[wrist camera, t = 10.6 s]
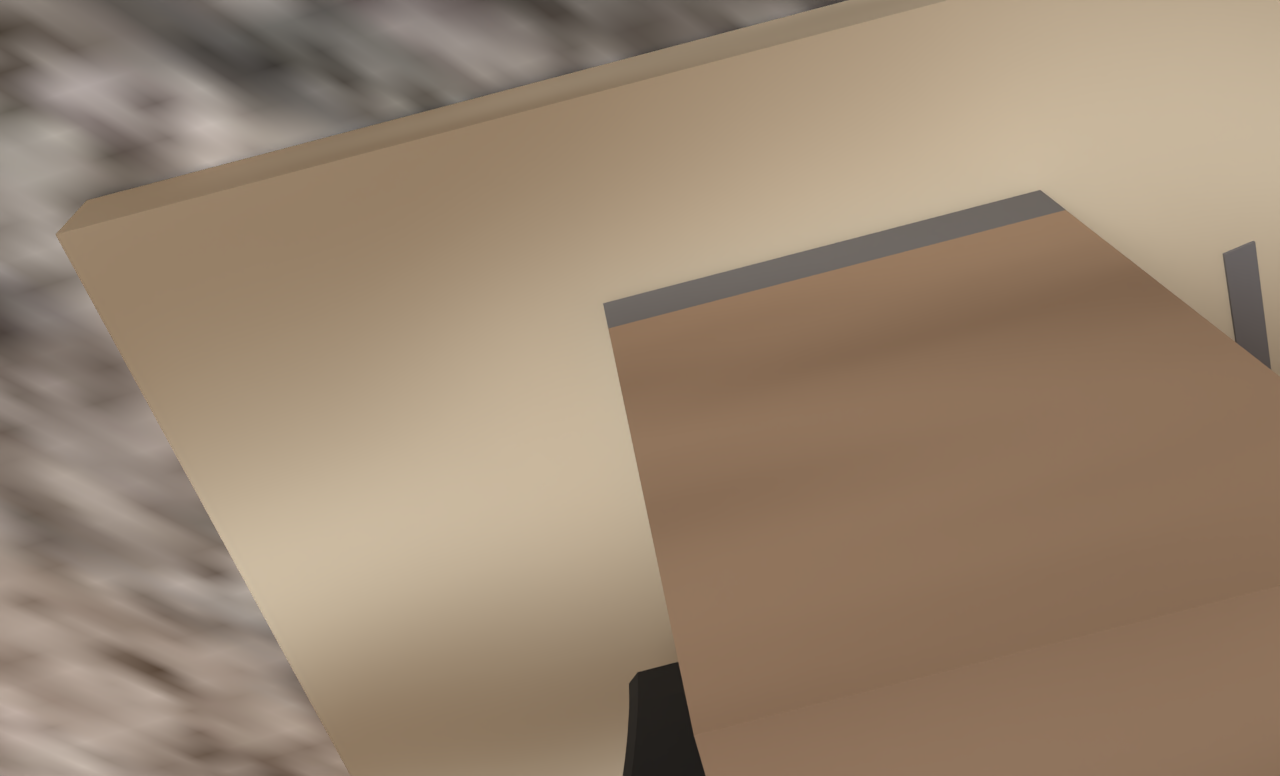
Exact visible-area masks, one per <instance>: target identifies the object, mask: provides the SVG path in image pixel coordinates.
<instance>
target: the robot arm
mask: <svg viewBox="0 0 1280 776" xmlns="http://www.w3.org/2000/svg"><path fill="white" fill-rule="evenodd" d="M623 776H706V775H705V772H704V768H703V765H702V762H701V758H700V755H699V751H698V748H697V744H696V741H695V738H694V734H693V729H692V724H691V719H690V715H689V710H688V705H687V700H686V696H685V691H684V686H683V681H682V677H681V672H680V667H679V662H675V663H671V664H667V665H663V666H660V667H656V668H652V669H648V670H644V671H640V672H637V674H636V675H635V676H634V677H633V679H632V680H631V681H630V683H629V717H628V733H627V744H626V753H625V762H624V770H623Z"/></svg>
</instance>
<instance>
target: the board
mask: <svg viewBox="0 0 1280 776" xmlns="http://www.w3.org/2000/svg"><path fill="white" fill-rule="evenodd" d="M1038 190H1041V191H1042V192H1044V193H1045V194H1046V195H1047V196H1049V197H1050V198H1051V199H1053V200H1054V201H1055V202H1056V203H1058V204H1059V205H1060V206H1062V207H1063V208H1064V209H1065V210H1067V211H1068V212H1069V213H1071V214H1072V215H1073V216H1074V217H1076V218H1077V219H1078V220H1080V221H1081V222H1082V223H1083V224H1085V225H1086V226H1087V227H1089V228H1090V229H1091V230H1092V231H1094V232H1095V233H1096V234H1097V235H1099V236H1100V237H1101V238H1103V239H1104V240H1105V241H1106V242H1108V243H1109V244H1110V245H1112V246H1113V247H1114V248H1115V249H1117V250H1118V251H1119V252H1121V253H1122V254H1123V255H1124V256H1126V257H1127V258H1128V259H1130V260H1131V261H1132V262H1133V263H1135V264H1136V265H1137V266H1139V267H1140V268H1141V269H1142V270H1144V271H1145V272H1146V273H1148V274H1149V275H1150V276H1151V277H1153V278H1154V279H1155V280H1157V281H1158V282H1159V283H1160V284H1162V285H1163V286H1164V287H1165V288H1167V289H1168V290H1169V291H1171V292H1172V293H1173V294H1174V295H1176V296H1177V297H1178V298H1180V299H1181V300H1182V301H1183V302H1185V303H1186V304H1187V305H1189V306H1190V307H1191V308H1192V309H1194V310H1195V311H1196V312H1198V313H1199V314H1200V315H1201V316H1203V317H1204V318H1205V319H1207V320H1208V321H1209V322H1210V323H1212V324H1213V325H1214V326H1216V327H1217V328H1218V329H1219V330H1221V331H1222V332H1223V333H1225V334H1226V335H1227V336H1228V337H1230V338H1231V339H1232V340H1233V341H1235V342H1236V343H1237V344H1239V345H1240V346H1241V347H1242V348H1244V349H1245V350H1246V351H1248V352H1249V353H1250V354H1251V355H1253V356H1254V357H1255V358H1257V359H1258V360H1259V361H1260V362H1262V363H1263V364H1264V365H1266V366H1267V367H1268V368H1269V369H1271V370H1272V371H1273V372H1275V373H1276V374H1277V375H1278V376H1280V0H848V1H844V2H840V3H836V4H832V5H829V6H825V7H821V8H817V9H813V10H810V11H806V12H802V13H798V14H794V15H791V16H787V17H783V18H779V19H775V20H771V21H768V22H764V23H760V24H756V25H752V26H749V27H745V28H741V29H737V30H733V31H730V32H726V33H722V34H718V35H714V36H711V37H707V38H703V39H699V40H695V41H692V42H688V43H684V44H680V45H676V46H673V47H669V48H665V49H661V50H657V51H654V52H650V53H646V54H642V55H638V56H635V57H631V58H627V59H623V60H619V61H616V62H612V63H608V64H604V65H600V66H596V67H593V68H589V69H585V70H581V71H577V72H574V73H570V74H566V75H562V76H558V77H555V78H551V79H547V80H543V81H539V82H536V83H532V84H528V85H524V86H520V87H517V88H513V89H509V90H505V91H501V92H498V93H494V94H490V95H486V96H482V97H479V98H475V99H471V100H467V101H463V102H460V103H456V104H452V105H448V106H444V107H440V108H437V109H433V110H429V111H425V112H421V113H418V114H414V115H410V116H406V117H402V118H399V119H395V120H391V121H387V122H383V123H380V124H376V125H372V126H368V127H364V128H361V129H357V130H353V131H349V132H345V133H342V134H338V135H334V136H330V137H326V138H323V139H319V140H315V141H311V142H307V143H304V144H300V145H296V146H292V147H288V148H284V149H281V150H277V151H273V152H269V153H265V154H262V155H258V156H254V157H250V158H246V159H243V160H239V161H235V162H231V163H227V164H224V165H220V166H216V167H212V168H208V169H205V170H201V171H197V172H193V173H189V174H186V175H182V176H178V177H174V178H170V179H167V180H163V181H159V182H155V183H151V184H148V185H144V186H140V187H136V188H132V189H128V190H125V191H121V192H117V193H113V194H109V195H106V196H102V197H98V198H94V199H90V200H87V201H86V202H85V203H84V204H83V205H82V206H81V207H80V208H79V209H78V211H77V212H76V213H75V214H74V215H73V216H72V217H71V218H70V219H69V220H68V222H67V223H66V224H65V225H64V226H63V227H62V228H61V229H60V230H59V231H58V232H57V234H56V236H57V238H58V240H59V242H60V243H61V245H62V247H63V249H64V251H65V253H66V254H67V256H68V258H69V260H70V262H71V264H72V265H73V267H74V269H75V271H76V273H77V275H78V276H79V278H80V280H81V282H82V284H83V286H84V287H85V289H86V291H87V293H88V295H89V297H90V298H91V300H92V302H93V304H94V306H95V308H96V309H97V311H98V313H99V315H100V317H101V319H102V320H103V322H104V324H105V326H106V328H107V330H108V331H109V333H110V335H111V337H112V339H113V341H114V342H115V344H116V346H117V348H118V350H119V352H120V353H121V355H122V357H123V359H124V361H125V363H126V364H127V366H128V368H129V370H130V372H131V374H132V375H133V377H134V379H135V381H136V383H137V385H138V387H139V388H140V390H141V392H142V394H143V396H144V398H145V399H146V401H147V403H148V405H149V407H150V409H151V410H152V412H153V414H154V416H155V418H156V420H157V421H158V423H159V425H160V427H161V429H162V431H163V432H164V434H165V436H166V438H167V440H168V442H169V443H170V445H171V447H172V449H173V451H174V453H175V454H176V456H177V458H178V460H179V462H180V464H181V465H182V467H183V469H184V471H185V473H186V475H187V476H188V478H189V480H190V482H191V484H192V486H193V487H194V489H195V491H196V493H197V495H198V497H199V498H200V500H201V502H202V504H203V506H204V508H205V509H206V511H207V513H208V515H209V517H210V519H211V520H212V522H213V524H214V526H215V528H216V530H217V531H218V533H219V535H220V537H221V539H222V541H223V542H224V544H225V546H226V548H227V550H228V552H229V553H230V555H231V557H232V559H233V561H234V563H235V564H236V566H237V568H238V570H239V572H240V574H241V575H242V577H243V579H244V581H245V583H246V585H247V586H248V588H249V590H250V592H251V594H252V596H253V597H254V599H255V601H256V603H257V605H258V607H259V608H260V610H261V612H262V614H263V616H264V618H265V619H266V621H267V623H268V625H269V627H270V629H271V630H272V632H273V634H274V636H275V638H276V640H277V641H278V643H279V645H280V647H281V649H282V651H283V653H284V654H285V656H286V658H287V660H288V662H289V664H290V665H291V667H292V669H293V671H294V673H295V675H296V676H297V678H298V680H299V682H300V684H301V686H302V687H303V689H304V691H305V693H306V695H307V697H308V698H309V700H310V702H311V704H312V706H313V708H314V709H315V711H316V713H317V715H318V717H319V719H320V720H321V722H322V724H323V726H324V728H325V730H326V731H327V733H328V735H329V737H330V739H331V741H332V742H333V744H334V746H335V748H336V750H337V752H338V753H339V755H340V757H341V759H342V761H343V763H344V764H345V766H346V768H347V770H348V772H349V774H350V775H351V776H623V770H624V762H625V753H626V744H627V733H628V717H629V683H630V681H631V680H632V679H633V677H634V676H635V675H636V674H637V672H640V671H644V670H648V669H652V668H656V667H660V666H663V665H667V664H671V663H675V662H678V658H677V653H676V648H675V643H674V639H673V634H672V629H671V624H670V620H669V615H668V610H667V605H666V601H665V596H664V591H663V586H662V582H661V577H660V572H659V567H658V563H657V558H656V553H655V548H654V544H653V539H652V534H651V529H650V525H649V520H648V515H647V510H646V506H645V501H644V496H643V491H642V487H641V482H640V477H639V472H638V468H637V463H636V458H635V453H634V449H633V444H632V439H631V434H630V430H629V425H628V420H627V415H626V411H625V406H624V401H623V396H622V392H621V387H620V382H619V377H618V373H617V368H616V363H615V358H614V354H613V349H612V344H611V339H610V335H609V330H608V325H607V320H606V316H605V311H604V306H603V303H606V302H610V301H614V300H618V299H622V298H625V297H629V296H633V295H637V294H641V293H645V292H649V291H652V290H656V289H660V288H664V287H668V286H672V285H676V284H679V283H683V282H687V281H691V280H695V279H699V278H703V277H706V276H710V275H714V274H718V273H722V272H726V271H730V270H733V269H737V268H741V267H745V266H749V265H753V264H757V263H760V262H764V261H768V260H772V259H776V258H780V257H784V256H787V255H791V254H795V253H799V252H803V251H807V250H811V249H814V248H818V247H822V246H826V245H830V244H834V243H837V242H841V241H845V240H849V239H853V238H857V237H861V236H864V235H868V234H872V233H876V232H880V231H884V230H888V229H891V228H895V227H899V226H903V225H907V224H911V223H915V222H918V221H922V220H926V219H930V218H934V217H938V216H942V215H945V214H949V213H953V212H957V211H961V210H965V209H969V208H972V207H976V206H980V205H984V204H988V203H992V202H996V201H999V200H1003V199H1007V198H1011V197H1015V196H1019V195H1023V194H1026V193H1030V192H1034V191H1038Z"/></svg>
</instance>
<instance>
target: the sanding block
mask: <svg viewBox="0 0 1280 776" xmlns="http://www.w3.org/2000/svg"><path fill="white" fill-rule="evenodd" d="M603 306H604V311H605V316H606V320H607V325H608V330H609V335H610V339H611V344H612V349H613V354H614V358H615V363H616V368H617V373H618V377H619V382H620V387H621V392H622V396H623V401H624V406H625V411H626V415H627V420H628V425H629V430H630V434H631V439H632V444H633V449H634V453H635V458H636V463H637V468H638V472H639V477H640V482H641V487H642V491H643V496H644V501H645V506H646V510H647V515H648V520H649V525H650V529H651V534H652V539H653V544H654V548H655V553H656V558H657V563H658V567H659V572H660V577H661V582H662V586H663V591H664V596H665V601H666V605H667V610H668V615H669V620H670V624H671V629H672V634H673V639H674V643H675V648H676V653H677V658H678V662H679V667H680V672H681V677H682V681H683V686H684V691H685V696H686V700H687V705H688V710H689V715H690V719H691V724H692V729H693V734H694V738H695V741H696V744H697V748H698V751H699V755H700V758H701V762H702V765H703V768H704V772H705V775H706V776H1280V376H1278V375H1277V374H1276V373H1275V372H1273V371H1272V370H1271V369H1269V368H1268V367H1267V366H1266V365H1264V364H1263V363H1262V362H1260V361H1259V360H1258V359H1257V358H1255V357H1254V356H1253V355H1251V354H1250V353H1249V352H1248V351H1246V350H1245V349H1244V348H1242V347H1241V346H1240V345H1239V344H1237V343H1236V342H1235V341H1233V340H1232V339H1231V338H1230V337H1228V336H1227V335H1226V334H1225V333H1223V332H1222V331H1221V330H1219V329H1218V328H1217V327H1216V326H1214V325H1213V324H1212V323H1210V322H1209V321H1208V320H1207V319H1205V318H1204V317H1203V316H1201V315H1200V314H1199V313H1198V312H1196V311H1195V310H1194V309H1192V308H1191V307H1190V306H1189V305H1187V304H1186V303H1185V302H1183V301H1182V300H1181V299H1180V298H1178V297H1177V296H1176V295H1174V294H1173V293H1172V292H1171V291H1169V290H1168V289H1167V288H1165V287H1164V286H1163V285H1162V284H1160V283H1159V282H1158V281H1157V280H1155V279H1154V278H1153V277H1151V276H1150V275H1149V274H1148V273H1146V272H1145V271H1144V270H1142V269H1141V268H1140V267H1139V266H1137V265H1136V264H1135V263H1133V262H1132V261H1131V260H1130V259H1128V258H1127V257H1126V256H1124V255H1123V254H1122V253H1121V252H1119V251H1118V250H1117V249H1115V248H1114V247H1113V246H1112V245H1110V244H1109V243H1108V242H1106V241H1105V240H1104V239H1103V238H1101V237H1100V236H1099V235H1097V234H1096V233H1095V232H1094V231H1092V230H1091V229H1090V228H1089V227H1087V226H1086V225H1085V224H1083V223H1082V222H1081V221H1080V220H1078V219H1077V218H1076V217H1074V216H1073V215H1072V214H1071V213H1069V212H1068V211H1067V210H1065V209H1064V208H1063V207H1062V206H1060V205H1059V204H1058V203H1056V202H1055V201H1054V200H1053V199H1051V198H1050V197H1049V196H1047V195H1046V194H1045V193H1044V192H1042V191H1041V190H1038V191H1034V192H1030V193H1026V194H1023V195H1019V196H1015V197H1011V198H1007V199H1003V200H999V201H996V202H992V203H988V204H984V205H980V206H976V207H972V208H969V209H965V210H961V211H957V212H953V213H949V214H945V215H942V216H938V217H934V218H930V219H926V220H922V221H918V222H915V223H911V224H907V225H903V226H899V227H895V228H891V229H888V230H884V231H880V232H876V233H872V234H868V235H864V236H861V237H857V238H853V239H849V240H845V241H841V242H837V243H834V244H830V245H826V246H822V247H818V248H814V249H811V250H807V251H803V252H799V253H795V254H791V255H787V256H784V257H780V258H776V259H772V260H768V261H764V262H760V263H757V264H753V265H749V266H745V267H741V268H737V269H733V270H730V271H726V272H722V273H718V274H714V275H710V276H706V277H703V278H699V279H695V280H691V281H687V282H683V283H679V284H676V285H672V286H668V287H664V288H660V289H656V290H652V291H649V292H645V293H641V294H637V295H633V296H629V297H625V298H622V299H618V300H614V301H610V302H606V303H603Z"/></svg>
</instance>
